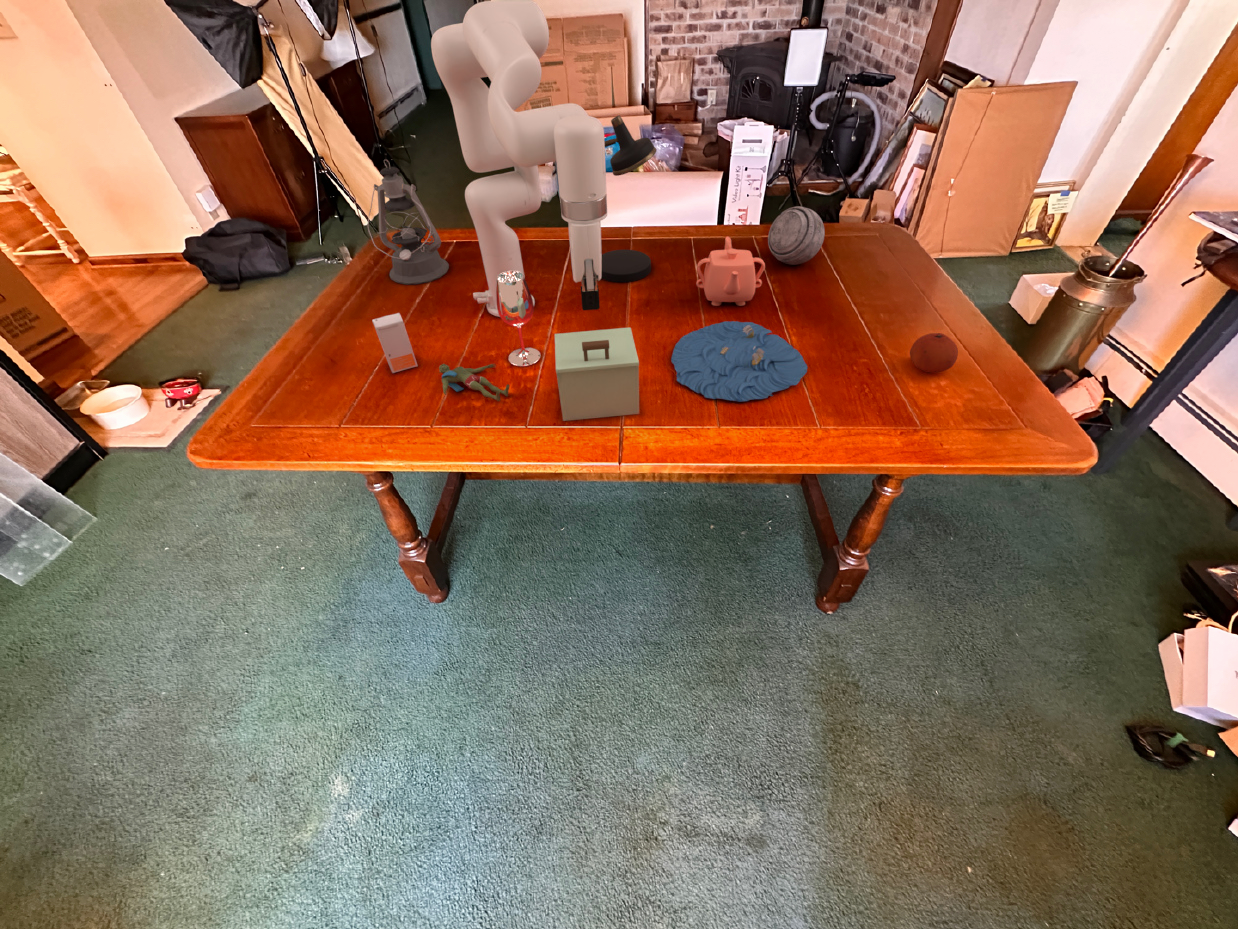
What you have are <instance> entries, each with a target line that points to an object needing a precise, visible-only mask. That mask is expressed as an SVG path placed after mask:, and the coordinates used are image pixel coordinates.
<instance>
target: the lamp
mask: <svg viewBox="0 0 1238 929" xmlns="http://www.w3.org/2000/svg"><path fill="white" fill-rule="evenodd" d="M610 123H611V125H612V129H613V132H614V134H615V138H614V137H613V138H610V139H607V140H604V143H605V148H607V147H610V146H613V145H616V144H618V148H619V150H617V151H616V152H615V153H614V154H613V155H612V156H611V157H610V161H609V163H610V166H611V171H612V175H613V176H615V177H619V176H623V175H625V174H628V173H630V172H633V171H635V170H637V169H638V168H640V167H641V166H643V165H644V164H646V163H647V162H648V161H650V160H651V159H652V158H654V157H655V154H656V153H657V148H656V147H655V145H654V144H653V142H652V140H651V139H650V138H649V137H642V138H638V139H636V140H635V139H634V137H633V136H632V134H631V133H630V130H629V129H628V127H627V125H626V123H625V121H624V119H623V118H622V116H621V115H620V114H619V115H616V116H615V117H613V118H612V119H611V120H610ZM651 271H652V261H651V257H650V256H649V255H647V253H644V252H642V251H640V250H635V249H615V250H614V249H613V250H610V251H606V252H605V253H602V273H601V280H604V281H607V282H611V283H619V284H620V283H624V284H625V283H633V282H637V281H639V280H643V279H645V278H646V277H647V276H648V275H650V274H651Z"/></svg>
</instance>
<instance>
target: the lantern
mask: <svg viewBox="0 0 1238 929" xmlns="http://www.w3.org/2000/svg"><path fill="white" fill-rule="evenodd" d="M385 161H386V162H387V163H388V165H387V164H386V162H385ZM385 161H383V163H384V166H385V167H384V168H382V169H381V170H380V172H379V175H381V176H384V177H383V178H382V179H381V184H379V185H377V184H376V183H374V184H373V190H372V195H371V203H370V209H369V213H368V217H367V218H368V219H367V231H368V234H369V236H370V239H371V241H372V243H373V244H372V245H373V246H374V247H375V248H376V250H378V251H380V252H382V253H383V254H385V255H387V256H388V257H391V264H392V268H391V269H390V271H389V273H388V276H389V278H390V280H391V281H394V282H395V283H397V284H399V285H405V286H407V285H410V286H411V285H422V284H427V283H431V282H433V281H435V280H438V279H440V278H441V277H443V276H444V275H446V274H447V273H448V270H449V268H450V264H449V263H448V261H446V259H445V258H442V257H441V255H440V253H439V251H438V249H439V248H440V247H441V246H442V245H441V244H442V240H441V237H440V235H439V233H438V231H437V230H436V229H437V228H436V227H435V225H434V224H433V222H432V220H431V218H430V217H429V214H428V213H427V211H426V209H425V208H424V205H423V204H422V203H421V201H420V199H419V197H418V195H417V193H416V190H417V187H416V185H414V184H411V185H409V184H407V183H404V178H403V177H402V176H401V175H398V173H400V169H399V168H397V167H396V166H391V164H390V161H388V159H385ZM375 191H377V203H378V204H377V209H378V210H377V211H378V230H379V232H377V234H378V235H379V238H380V241H381V242H382V244H383V245H384V246H385V247H387V248H388V249H390V250H392V251H394V252H393V253H392V255H390V254H388V253H387V252H386V251H384V250H382V249H380V248H378V246H377V245H376V244H375V242H374V239H373V236H372V234H371V231H370V227H369V223H370V215H371V211H372V207H373V200H374V196H375ZM407 195H409V197H407ZM386 198H387V199H388V200H387V201H386ZM414 207H415V208H416V210H417V212H416V214H419V216H420V217H421V219H422V220H423V222H424V224H425V226H426V228H425V226H424V225H423V223H422V222H421V220H420V219H419V218H418V217H415V216H413V215H412V214H414V212H411V213H410V214H409V213H408V212H404V211H408V210H411V209H412V208H414ZM387 212H389V213H388V215H389V214H394V213H396V212H399V213H402V214H406V215H407V216H405V219H404V221H403V223H402V229H401V228H397V227H395V226H391V225H390V224H389V222H388V221H387ZM409 216H410V217H412V218H414V219H413V221H411V223H410V224H409V225H405V226H404V224H405V222H406V219H407V218H408V217H409ZM415 220H417V221H418V222H420V225H421V226H422V227H412V226H411V225H413V223H414V221H415ZM387 225H388V226H389V227H391V228H393V229H396V230H400V231H397V232H394V234H393V235H392V236H391V239H390V240H391V241H389V239H388V238H387V232H388V230H389V228H388V227H387ZM428 231H429V233H428ZM427 233H428V236H427V238H425V237H426V235H427ZM431 236H432V237H431ZM429 239H431V240H430V241H428V240H429ZM422 240H424V241H423V242H422ZM399 245H400V246H401V247H399Z"/></svg>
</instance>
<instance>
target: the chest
mask: <svg viewBox="0 0 1238 929" xmlns="http://www.w3.org/2000/svg"><path fill="white" fill-rule="evenodd" d="M639 366H640V365H639ZM639 366H629V367H618V368H607V369H596V370H585V371H574V372H563V373H556V379H557V387H558V395H559V400H560V408H561V415H562V422H568V421H579V420H587V419H588V420H589V419H599V418H609V417H610V418H611V417H617V416H618V417H620V416H631V415H640V370H639V369H640V368H639Z"/></svg>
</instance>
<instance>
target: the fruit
mask: <svg viewBox="0 0 1238 929" xmlns="http://www.w3.org/2000/svg"><path fill="white" fill-rule="evenodd" d="M958 348H959V347H958V346H957V344H956V342H955V341H953V339H952V338H951V337H949V336H948V335H946V334H944V333H942V332H932V333H931V332H930V333H927V334H924V335H921V336H920V337H918V338H917V339H916V340H915V341H914V342H913V343H912V345H911V347H910V350H909V357H910V360H911V362H912V364H913V365H914V366H915V367H916V368H917V369H919V370H921V371H923V372H926V373H931V374H932V373H941V372H944V371H948V370H949V369H951V368H952V367H953V366H954V365H955V364H956V362H957V359H958V355H959V349H958Z"/></svg>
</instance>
